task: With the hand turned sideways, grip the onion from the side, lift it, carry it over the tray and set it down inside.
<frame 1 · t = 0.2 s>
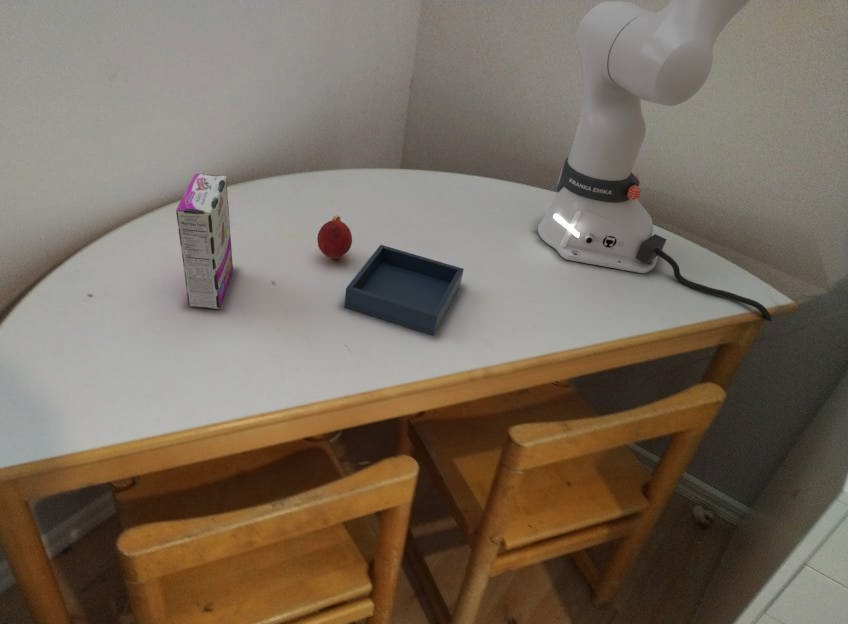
tray: (404, 296, 102), on the table
onion: (333, 259, 109), on the table
candy bar box: (211, 289, 99), on the table
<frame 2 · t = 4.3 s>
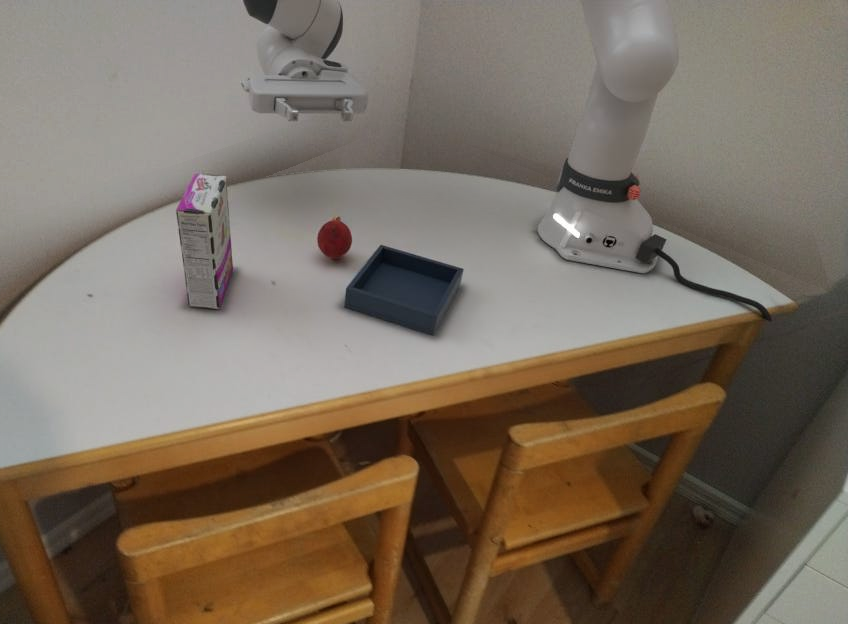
hand: (321, 117, 103), 20 cm above the table, tool horizontal, fingers open, 8 cm apart
nothing on the table moved.
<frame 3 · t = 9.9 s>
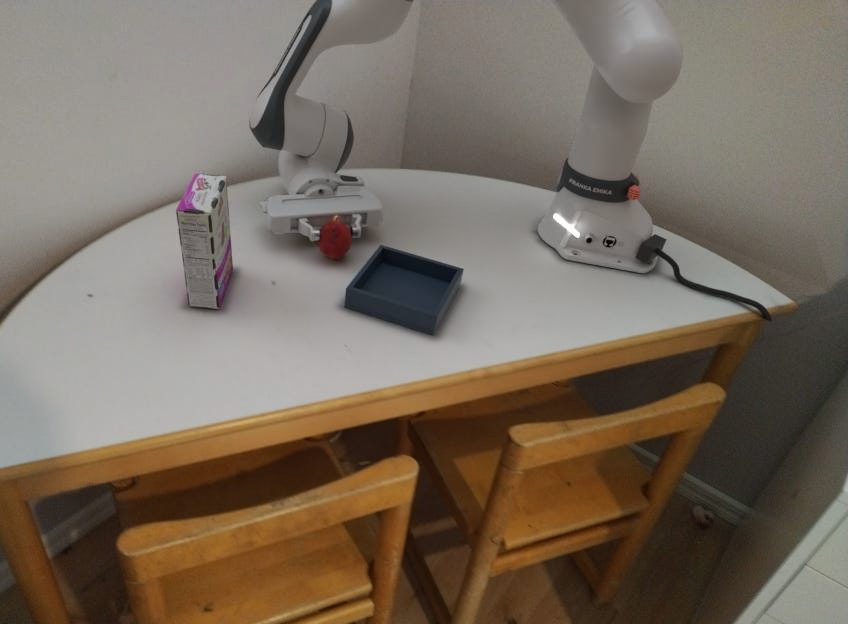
hand: (336, 235, 105), 5 cm above the table, tool horizontal, fingers closed on onion, 6 cm apart
onion: (333, 259, 109), on the table, touching gripper
everything else where it was.
when the fingers open (6 cm above the table, at t = 18.1 s): onion stays where it is, resting on tray.
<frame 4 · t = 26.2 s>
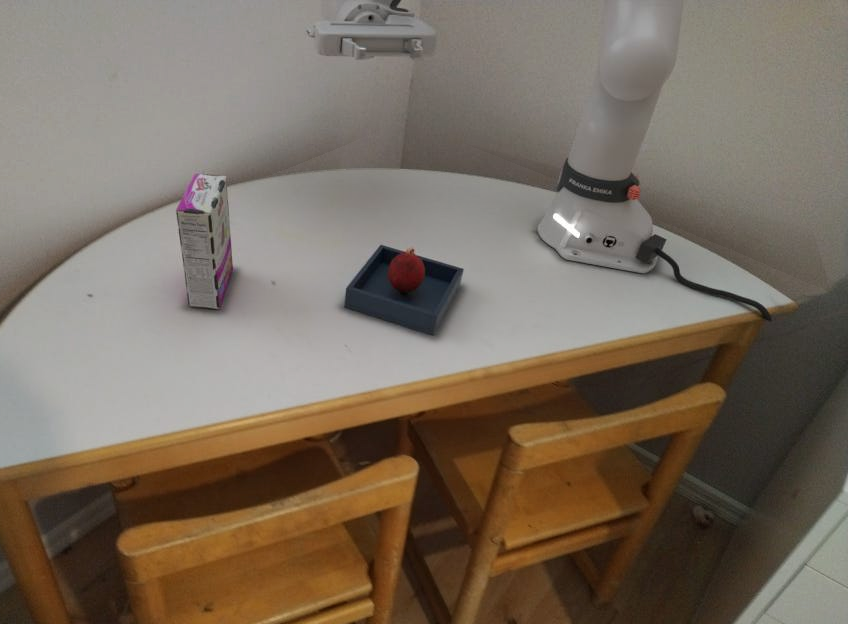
hand: (390, 54, 99), 30 cm above the table, tool horizontal, fingers open, 8 cm apart
onion: (403, 293, 102), point 1 cm above the table, touching tray
everything else where it was.
at the end: onion inside the target area in the tray (0.2 cm from its centre), point 0.6 cm above the tray's base; the gripper is holding nothing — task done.
